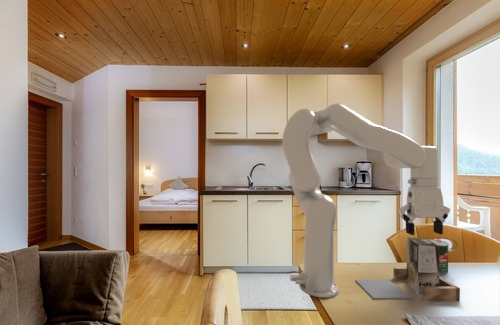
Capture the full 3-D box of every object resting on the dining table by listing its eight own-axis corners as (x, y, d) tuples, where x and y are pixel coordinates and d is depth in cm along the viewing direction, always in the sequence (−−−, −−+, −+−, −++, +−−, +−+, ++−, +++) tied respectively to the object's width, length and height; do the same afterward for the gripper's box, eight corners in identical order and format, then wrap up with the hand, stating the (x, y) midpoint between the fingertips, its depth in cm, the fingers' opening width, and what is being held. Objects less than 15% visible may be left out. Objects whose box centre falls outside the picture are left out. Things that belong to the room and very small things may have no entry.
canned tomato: (437, 274, 95) (437, 246, 95) (418, 266, 103) (419, 239, 103) (453, 272, 97) (453, 244, 97) (434, 264, 105) (434, 238, 105)
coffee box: (440, 297, 79) (440, 246, 79) (417, 294, 80) (418, 244, 80) (426, 283, 88) (426, 237, 88) (405, 281, 89) (406, 236, 89)
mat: (373, 299, 77) (373, 297, 77) (355, 280, 89) (355, 279, 89) (411, 298, 78) (411, 297, 78) (388, 280, 90) (388, 279, 90)
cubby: (424, 301, 76) (424, 288, 76) (393, 278, 92) (393, 267, 92) (459, 301, 77) (459, 288, 77) (422, 278, 92) (423, 267, 92)
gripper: (406, 184, 80) (406, 237, 80) (458, 183, 81) (458, 236, 81) (391, 182, 88) (392, 231, 88) (439, 181, 88) (440, 230, 88)
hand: (424, 233), depth 84 cm, fingers open, 9 cm apart
